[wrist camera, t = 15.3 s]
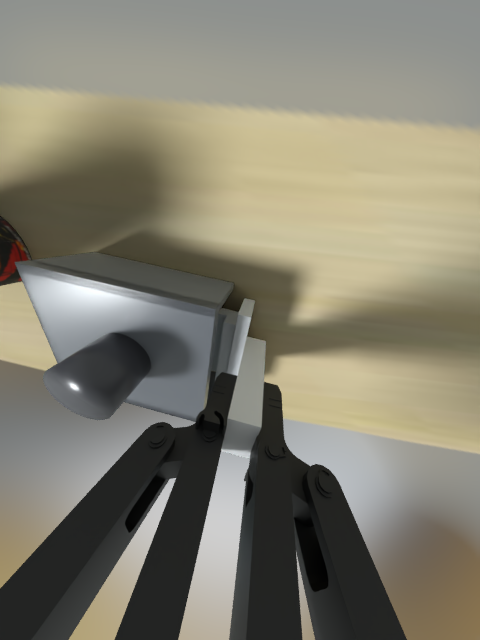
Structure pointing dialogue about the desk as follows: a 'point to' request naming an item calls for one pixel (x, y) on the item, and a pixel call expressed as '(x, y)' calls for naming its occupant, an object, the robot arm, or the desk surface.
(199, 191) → the desk surface
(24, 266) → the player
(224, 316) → the tray
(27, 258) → the deodorant
